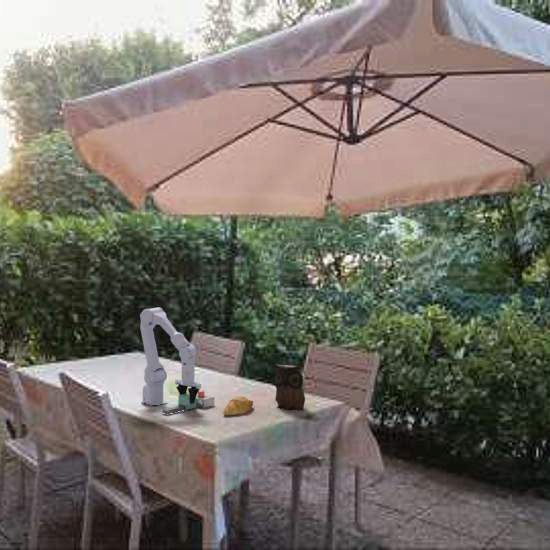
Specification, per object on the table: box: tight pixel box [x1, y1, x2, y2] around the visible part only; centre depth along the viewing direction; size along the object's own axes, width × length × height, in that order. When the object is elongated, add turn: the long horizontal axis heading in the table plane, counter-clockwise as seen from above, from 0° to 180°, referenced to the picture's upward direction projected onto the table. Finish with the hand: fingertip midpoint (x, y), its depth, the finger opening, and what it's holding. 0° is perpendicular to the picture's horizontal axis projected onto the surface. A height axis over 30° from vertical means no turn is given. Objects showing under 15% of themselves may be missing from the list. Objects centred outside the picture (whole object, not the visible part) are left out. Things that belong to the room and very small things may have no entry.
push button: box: [197, 390, 206, 398], centre depth 328 cm, size 3×3×4 cm
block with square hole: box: [196, 393, 215, 409], centre depth 328 cm, size 10×7×4 cm
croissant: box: [222, 396, 254, 416], centre depth 318 cm, size 21×10×8 cm, turn 148°
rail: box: [162, 403, 199, 415], centre depth 318 cm, size 3×19×2 cm, turn 142°
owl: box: [274, 363, 306, 411], centre depth 325 cm, size 13×13×20 cm
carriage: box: [177, 392, 196, 411], centre depth 321 cm, size 5×6×6 cm
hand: (187, 402), depth 322 cm, fingers closed on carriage, 5 cm apart
